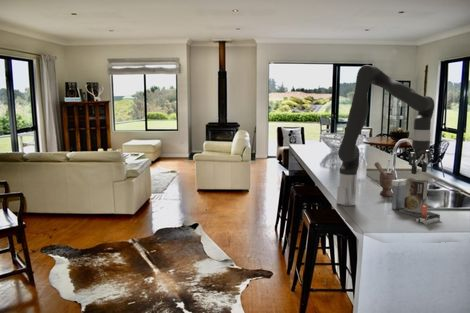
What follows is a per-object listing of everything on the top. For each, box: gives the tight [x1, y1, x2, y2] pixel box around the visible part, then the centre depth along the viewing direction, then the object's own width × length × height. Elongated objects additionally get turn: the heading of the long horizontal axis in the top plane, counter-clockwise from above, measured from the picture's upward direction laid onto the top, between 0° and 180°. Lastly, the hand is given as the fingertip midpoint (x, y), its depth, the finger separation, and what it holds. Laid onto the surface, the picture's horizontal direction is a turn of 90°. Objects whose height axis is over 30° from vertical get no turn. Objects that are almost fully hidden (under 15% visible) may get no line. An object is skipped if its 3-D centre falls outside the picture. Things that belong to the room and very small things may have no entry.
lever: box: [419, 204, 429, 224], centre depth 180 cm, size 2×2×8 cm
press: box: [391, 178, 441, 226], centre depth 192 cm, size 18×25×15 cm
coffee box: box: [403, 177, 429, 213], centre depth 194 cm, size 9×6×16 cm
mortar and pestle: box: [374, 161, 396, 197], centre depth 228 cm, size 12×9×20 cm
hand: (419, 172), depth 182 cm, fingers open, 8 cm apart
